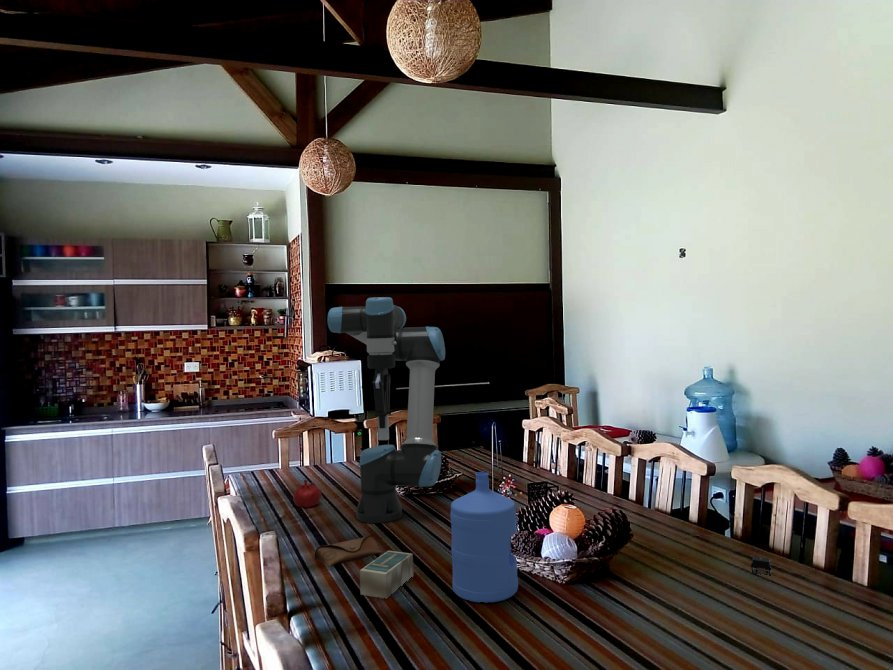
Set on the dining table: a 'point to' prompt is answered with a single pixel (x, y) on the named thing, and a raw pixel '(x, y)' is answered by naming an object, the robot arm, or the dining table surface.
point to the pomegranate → (307, 495)
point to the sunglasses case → (347, 550)
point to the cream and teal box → (386, 574)
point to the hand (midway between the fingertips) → (383, 439)
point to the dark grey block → (761, 565)
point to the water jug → (483, 544)
